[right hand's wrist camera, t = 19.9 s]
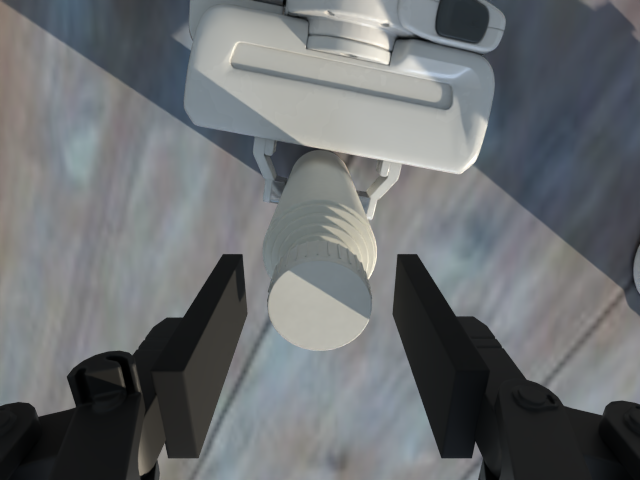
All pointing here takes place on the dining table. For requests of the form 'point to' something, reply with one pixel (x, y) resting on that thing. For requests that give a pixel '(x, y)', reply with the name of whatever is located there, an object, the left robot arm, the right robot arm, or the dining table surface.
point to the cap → (319, 296)
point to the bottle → (319, 212)
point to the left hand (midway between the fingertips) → (318, 209)
